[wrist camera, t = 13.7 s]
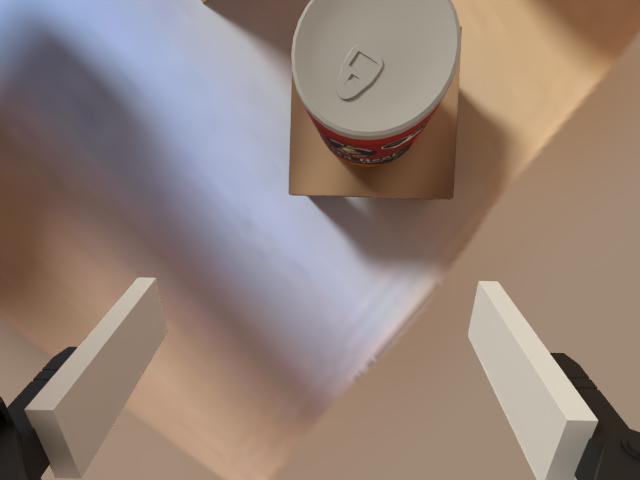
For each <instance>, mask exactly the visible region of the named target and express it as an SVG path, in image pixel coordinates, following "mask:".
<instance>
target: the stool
mask: <svg viewBox="0 0 640 480" xmlns="http://www.w3.org/2000/svg"><path fill="white" fill-rule="evenodd" d="M461 32H462V27H460V36H461ZM294 34H295V31H293V37H294ZM460 52H461V48H460ZM459 71H460V54H459V61H458V65H457V68H456V71H455V74H454V77H453V80H452V83H451V85H450V87H449V89H448V90H447V92H446V94H445V96H444V98H443V99H442V101H441V103H440V104H439V106H438V108H437V109H436V111H435V112H434V114H433V116H432V117H431V119H430V120H429V122H428V123H427V125H426V126H425V128H424V129H423V131H422V132H421V134H420V136H419V137H418V139H417V140H416V142H415V143H414V144H413V145H412V146H411V147H410V149H409V150H408V151H406V152H405V153H404V154H403V155H402V156H400V157H399V158H397V159H395V160H393V161H391V162H390V163H386V164H383V165H380V166H373V167H362V166H356V165H352V164H349V163H347V162H345V161H343V160H341V159H339V158H338V157H337V156H335V155H334V154H333V153H332V152H331V151H330V150H329V148H328V147H327V146H326V145H325V143H324V141H323V140H322V138H321V136H320V134H319V132H318V131H317V129H316V127H315V125H314V124H313V122H312V120H311V118H310V116H309V115H308V113H307V111H306V109H305V107H304V105H303V103H302V101H301V99H300V96H299V94H298V92H297V89H296V85H295V81H294V78H293V72H292V97H291V131H290V166H289V194H290V195H298V196H337V197H375V198H412V199H452V198H453V190H454V170H455V150H456V130H457V111H458V91H459Z"/></svg>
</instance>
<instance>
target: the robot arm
mask: <svg viewBox="0 0 640 480" xmlns="http://www.w3.org/2000/svg"><path fill="white" fill-rule="evenodd" d="M167 332H168V331H167V326H166V321H165V317H164V312H163V307H162V303H161V298H160V293H159V289H158V284H157V279H156V278H137V279H136V280H135V282H134V283H133V284H132V285H131V286H130V287H129V288H128V290H127V291H126V292H125V293H124V294H123V295H122V297H121V298H120V299H119V300H118V301H117V302H116V304H115V305H114V306H113V307H112V308H111V309H110V311H109V312H108V313H107V314H106V315H105V316H104V318H103V319H102V320H101V321H100V322H99V323H98V325H97V326H96V327H95V328H94V329H93V330H92V331H91V333H90V334H89V335H88V336H87V337H86V338H85V340H84V341H83V342H82V343H81V344H80V345H79V347H68V348H66V349H65V350H63V351H62V352H60V353H59V354H57V355H56V356H54V357H53V358H52V359H51V360H50V362H49V363H48V364H47V365H46V366H45V367H44V368H43V369H42V372H39V374H38V375H37V376H36V377H35V378H34V380H33V382H30V383H29V384H28V386H27V387H26V388H25V389H24V390H23V391H22V392H21V393H20V394H19V395H18V396H17V398H16V399H15V400H14V401H13V402H12V403H11V404H10V405H9V406H8V408H7V407H6V405H5V403H4V401H3V399H2V398H1V397H0V480H41V478H40V477H41V476H42V475H43V473H44V472H45V470H46V469H47V467H48V466H49V465H50V467H51V469H52V471H53V473H54V476H55V477H56V478H82V476H83V475H84V473H85V471H86V470H87V468H88V466H89V465H90V463H91V461H92V460H93V458H94V456H95V454H96V453H97V451H98V449H99V448H100V446H101V444H102V442H103V441H104V439H105V437H106V436H107V434H108V432H109V431H110V429H111V427H112V426H113V424H114V422H115V420H116V419H117V417H118V415H119V414H120V412H121V410H122V408H123V407H124V405H125V403H126V402H127V400H128V398H129V397H130V395H131V393H132V391H133V390H134V388H135V386H136V385H137V383H138V381H139V380H140V378H141V376H142V374H143V373H144V371H145V369H146V368H147V366H148V364H149V363H150V361H151V359H152V357H153V356H154V354H155V352H156V351H157V349H158V347H159V346H160V344H161V342H162V340H163V339H164V337H165V335H166V334H167ZM468 337H469V339H470V341H471V343H472V346H473V348H474V349H475V352H476V354H477V356H478V358H479V360H480V362H481V364H482V366H483V369H484V371H485V373H486V375H487V377H488V379H489V381H490V383H491V385H492V387H493V389H494V392H495V394H496V396H497V398H498V400H499V402H500V404H501V406H502V408H503V410H504V412H505V415H506V417H507V419H508V421H509V423H510V425H511V427H512V429H513V431H514V433H515V435H516V437H517V440H518V442H519V444H520V446H521V448H522V450H523V452H524V454H525V456H526V459H527V461H528V463H529V465H530V467H531V469H532V471H533V473H534V475H535V477H536V479H537V480H574V477H575V476H576V478H577V480H640V432H637V431H634V430H631V429H629V427H628V426H627V425H626V424H625V422H624V421H623V420H622V418H620V416H619V415H618V413H617V412H616V411H615V410H614V408H613V407H612V406H611V405H610V403H609V402H608V401H607V400H606V398H605V397H604V396H603V394H602V393H601V392H600V391H599V390H597V387H596V386H595V384H594V383H593V382H592V380H589V377H588V375H587V374H586V373H585V372H584V370H583V369H582V368H581V367H580V365H579V364H577V363H576V362H575V361H574V360H572V359H571V358H570V357H568V356H567V355H565V354H564V353H549V352H548V350H547V349H546V347H545V346H544V345H543V343H542V342H541V340H540V339H539V338H538V336H537V335H536V333H535V332H534V331H533V329H532V328H531V327H530V325H529V324H528V322H527V321H526V320H525V318H524V317H523V315H522V314H521V313H520V311H519V310H518V309H517V307H516V306H515V304H514V303H513V302H512V300H511V299H510V297H509V296H508V295H507V293H506V292H505V291H504V289H503V288H502V286H501V285H500V284H499V282H498V281H478V286H477V292H476V297H475V302H474V307H473V312H472V317H471V322H470V327H469V332H468Z"/></svg>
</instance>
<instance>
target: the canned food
mask: <svg viewBox="0 0 640 480" xmlns="http://www.w3.org/2000/svg"><path fill="white" fill-rule="evenodd" d="M460 48H461V36H460V25H459V21H458V17H457V13H456V10H455V8H454V6H453V4H452V2H451V0H310V2H309V3H308V4H307V6H306V8H305V9H304V11H303V13H302V15H301V17H300V19H299V21H298V24H297V27H296V30H295V34H294V37H293V43H292V51H291V61H292V72H293V78H294V81H295V85H296V89H297V92H298V94H299V96H300V99H301V101H302V103H303V105H304V107H305V109H306V111H307V113H308V115H309V116H310V118H311V120H312V122H313V124H314V125H315V127H316V129H317V131H318V132H319V134H320V136H321V138H322V140H323V141H324V143H325V145H326V146H327V147H328V148H329V150H330V151H331V152H332V153H333V154H334V155H335V156H337V157H338V158H339V159H341V160H343V161H345V162H347V163H349V164H352V165H356V166H362V167H373V166H380V165H383V164H386V163H390V162H391V161H393V160H395V159H397V158H399V157H400V156H402V155H403V154H404V153H405V152H406V151H408V150H409V149H410V147H411V146H412V145H413V144H414V143H415V142H416V140H417V139H418V137H419V136H420V134H421V132H422V131H423V129H424V128H425V126H426V125H427V123H428V122H429V120H430V119H431V117H432V116H433V114H434V112H435V111H436V109H437V108H438V106H439V104H440V103H441V101H442V99H443V98H444V96H445V94H446V92H447V90H448V89H449V87H450V85H451V83H452V80H453V77H454V74H455V71H456V68H457V65H458V61H459V54H460Z"/></svg>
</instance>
